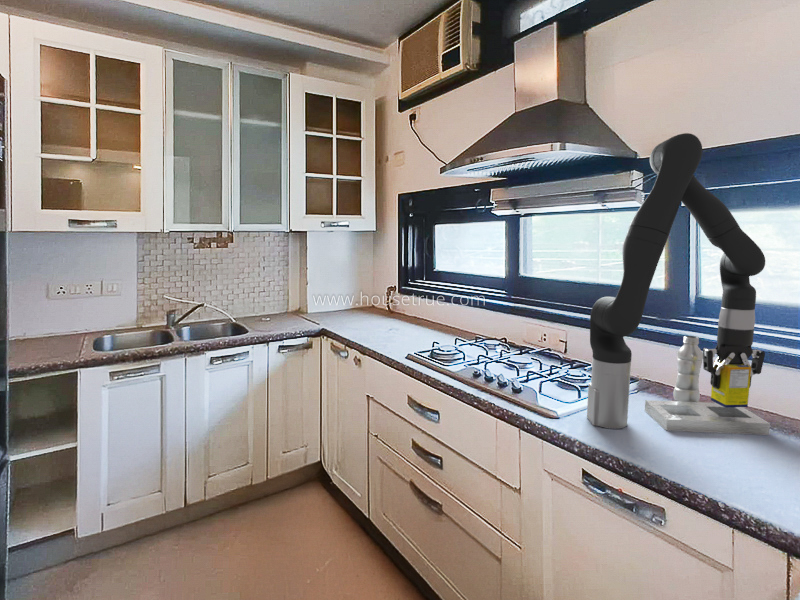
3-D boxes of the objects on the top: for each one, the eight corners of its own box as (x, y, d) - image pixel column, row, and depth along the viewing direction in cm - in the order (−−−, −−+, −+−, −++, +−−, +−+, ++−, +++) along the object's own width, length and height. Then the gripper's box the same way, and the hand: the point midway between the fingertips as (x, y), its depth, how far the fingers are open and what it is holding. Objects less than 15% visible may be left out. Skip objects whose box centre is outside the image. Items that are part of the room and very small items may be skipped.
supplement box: (731, 399, 127) (735, 360, 126) (748, 407, 121) (752, 366, 120) (709, 400, 127) (713, 360, 125) (725, 408, 121) (729, 366, 120)
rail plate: (666, 430, 120) (667, 419, 120) (644, 410, 134) (645, 400, 133) (768, 435, 117) (770, 423, 117) (736, 413, 131) (737, 403, 131)
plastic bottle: (668, 399, 143) (673, 334, 140) (692, 400, 142) (698, 334, 139) (678, 407, 136) (683, 339, 134) (703, 408, 135) (709, 339, 133)
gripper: (713, 327, 118) (708, 392, 121) (776, 329, 117) (769, 394, 119) (698, 322, 126) (693, 383, 128) (757, 323, 124) (750, 385, 126)
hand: (730, 388), depth 124 cm, fingers closed on supplement box, 6 cm apart
